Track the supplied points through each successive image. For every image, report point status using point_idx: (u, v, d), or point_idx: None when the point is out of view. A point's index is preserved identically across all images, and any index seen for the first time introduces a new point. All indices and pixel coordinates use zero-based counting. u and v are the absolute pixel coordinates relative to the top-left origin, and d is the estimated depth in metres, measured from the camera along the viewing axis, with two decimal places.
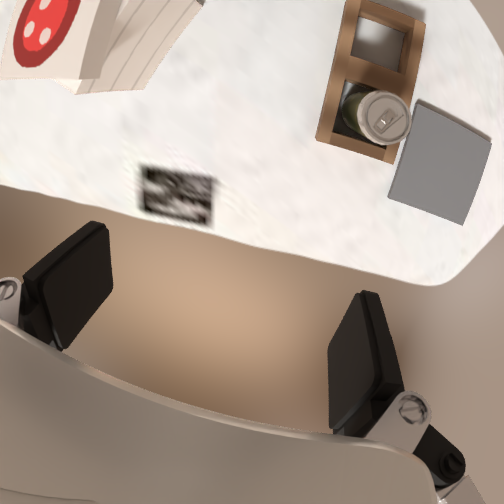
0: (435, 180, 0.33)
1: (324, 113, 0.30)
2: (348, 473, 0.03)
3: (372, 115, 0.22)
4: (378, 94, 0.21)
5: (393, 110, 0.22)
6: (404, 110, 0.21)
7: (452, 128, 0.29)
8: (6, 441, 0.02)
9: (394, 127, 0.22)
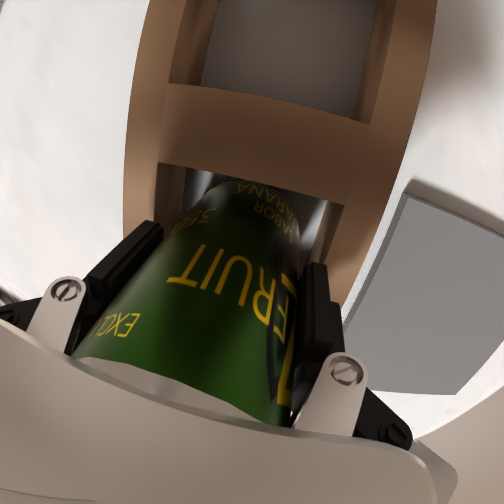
0: (420, 351, 0.16)
1: None
2: (348, 473, 0.03)
3: None
4: None
5: None
6: None
7: (485, 249, 0.12)
8: (6, 441, 0.02)
9: None
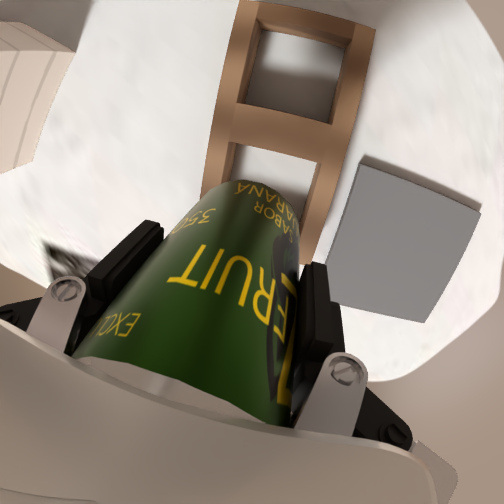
0: (385, 273, 0.26)
1: None
2: (348, 473, 0.03)
3: None
4: None
5: None
6: None
7: (418, 197, 0.22)
8: (6, 441, 0.02)
9: None
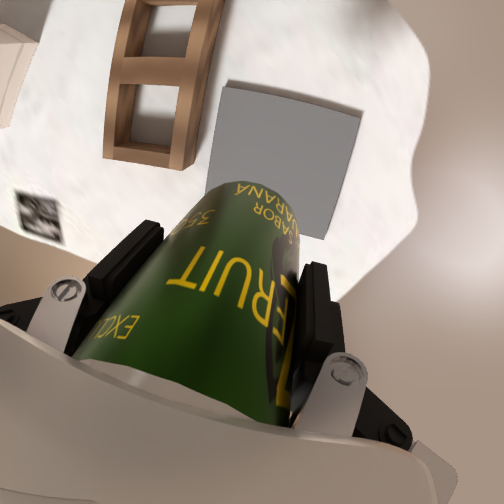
0: (263, 181, 0.30)
1: (105, 128, 0.26)
2: (348, 473, 0.03)
3: None
4: None
5: None
6: None
7: (281, 107, 0.26)
8: (6, 441, 0.02)
9: None
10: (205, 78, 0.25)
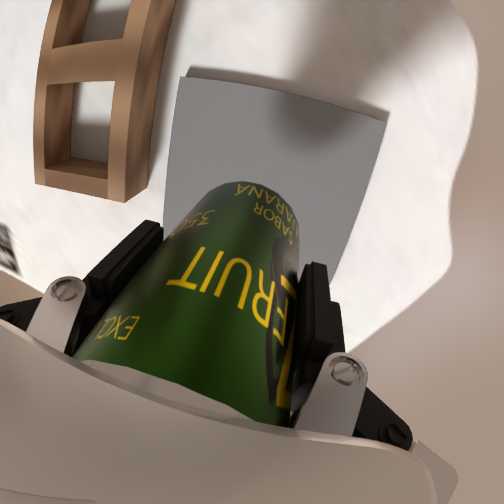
0: None
1: (34, 145, 0.17)
2: (348, 473, 0.03)
3: None
4: None
5: None
6: None
7: (267, 103, 0.17)
8: (6, 441, 0.02)
9: None
10: (156, 66, 0.16)
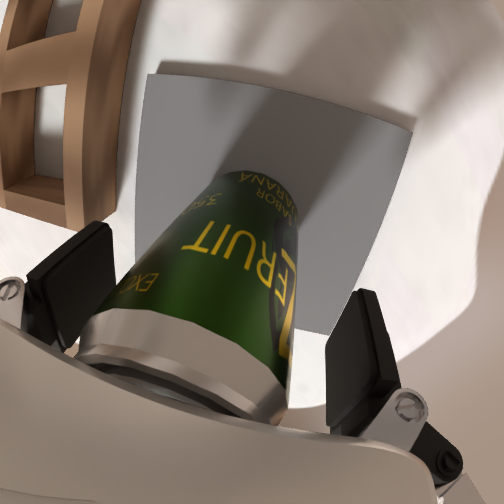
0: None
1: None
2: (348, 473, 0.03)
3: None
4: (91, 358, 0.04)
5: (187, 403, 0.05)
6: None
7: (258, 105, 0.13)
8: (6, 441, 0.02)
9: None
10: (120, 63, 0.12)
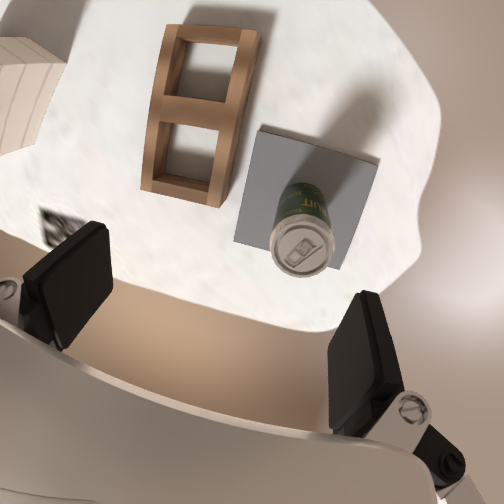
0: None
1: (143, 162, 0.31)
2: (348, 473, 0.03)
3: (283, 248, 0.23)
4: (291, 224, 0.22)
5: (311, 240, 0.22)
6: (325, 239, 0.22)
7: (309, 153, 0.30)
8: (6, 441, 0.02)
9: (311, 259, 0.23)
10: (240, 121, 0.30)
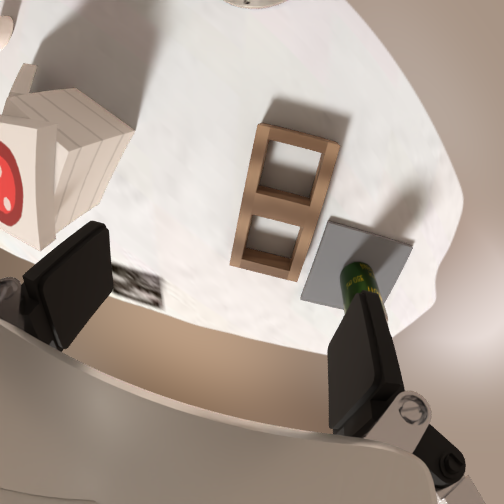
0: None
1: (234, 244, 0.40)
2: (348, 473, 0.03)
3: None
4: None
5: None
6: None
7: (365, 240, 0.40)
8: (6, 441, 0.02)
9: None
10: None
